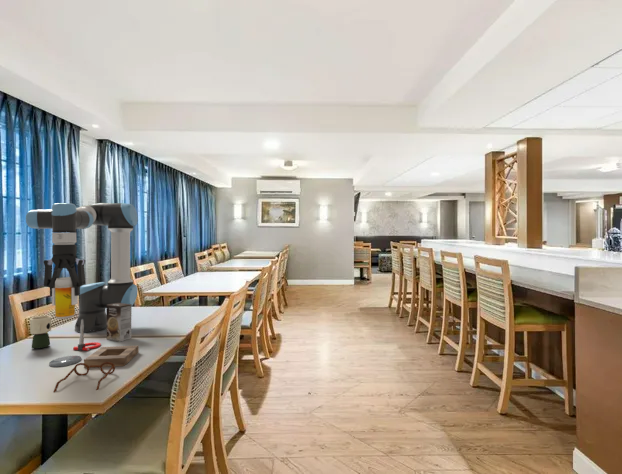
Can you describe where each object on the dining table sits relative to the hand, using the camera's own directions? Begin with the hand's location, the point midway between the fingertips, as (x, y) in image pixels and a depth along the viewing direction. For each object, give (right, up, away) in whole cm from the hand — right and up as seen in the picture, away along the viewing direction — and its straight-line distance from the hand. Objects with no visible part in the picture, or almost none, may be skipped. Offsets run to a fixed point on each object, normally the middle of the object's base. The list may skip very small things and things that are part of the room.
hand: (65, 304), depth 131 cm
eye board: (+17, -22, +2) cm, 28 cm away
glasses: (+19, -23, -18) cm, 35 cm away
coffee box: (+4, -22, +29) cm, 37 cm away
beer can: (0, -5, 0) cm, 5 cm away
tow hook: (-2, -22, +17) cm, 28 cm away
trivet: (0, -22, 0) cm, 22 cm away
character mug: (-22, -22, +17) cm, 35 cm away
